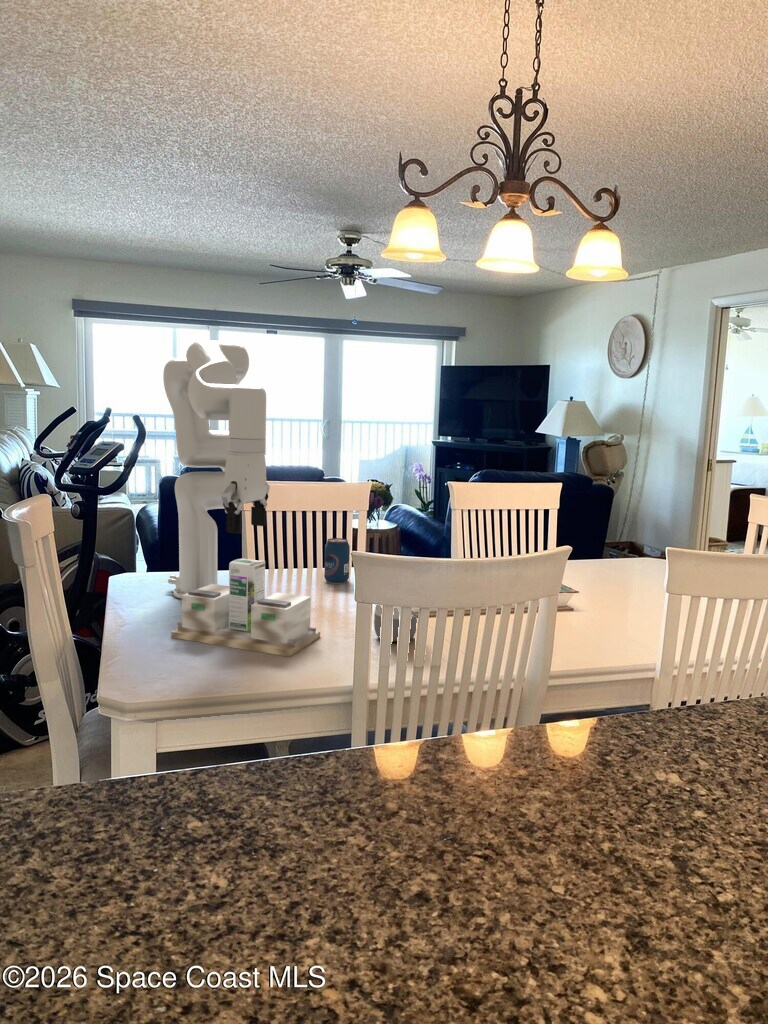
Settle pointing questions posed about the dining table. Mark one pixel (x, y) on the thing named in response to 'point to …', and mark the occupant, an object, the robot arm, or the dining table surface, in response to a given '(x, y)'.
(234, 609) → the syrup box
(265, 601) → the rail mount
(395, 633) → the smart speaker
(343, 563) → the soda can
